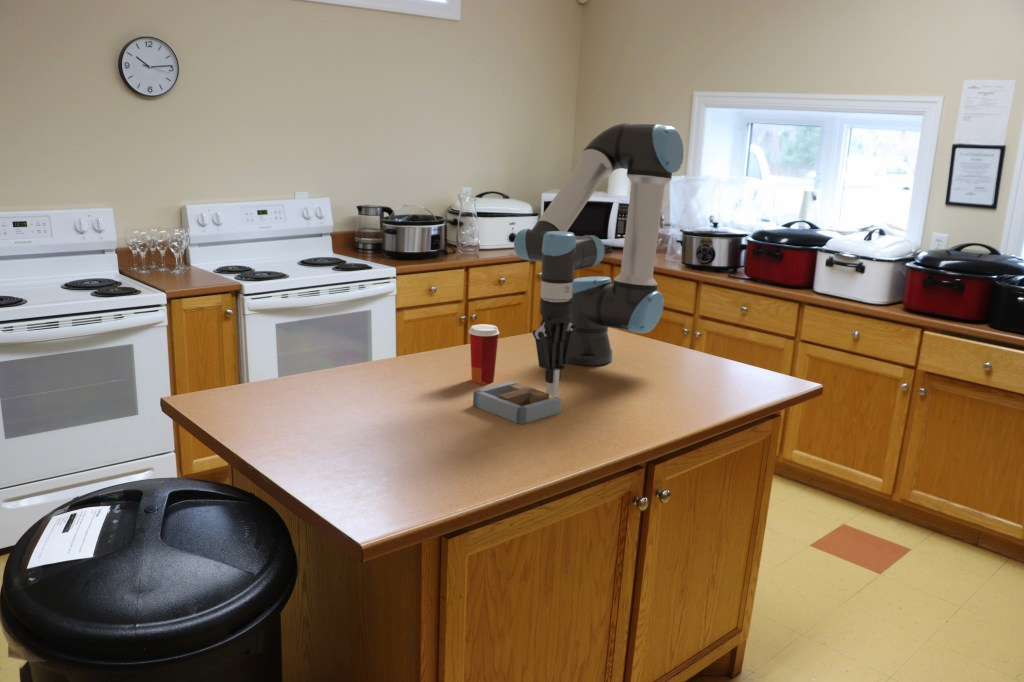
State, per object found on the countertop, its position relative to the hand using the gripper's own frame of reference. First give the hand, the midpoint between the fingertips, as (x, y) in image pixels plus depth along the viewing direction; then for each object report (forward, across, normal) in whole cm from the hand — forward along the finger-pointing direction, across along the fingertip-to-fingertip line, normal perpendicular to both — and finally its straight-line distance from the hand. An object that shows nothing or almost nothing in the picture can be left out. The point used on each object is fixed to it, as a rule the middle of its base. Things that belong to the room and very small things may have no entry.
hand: (552, 394), depth 202 cm
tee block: (+1, -12, 0) cm, 12 cm away
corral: (+1, -12, 0) cm, 12 cm away
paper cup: (+1, -4, +21) cm, 21 cm away
